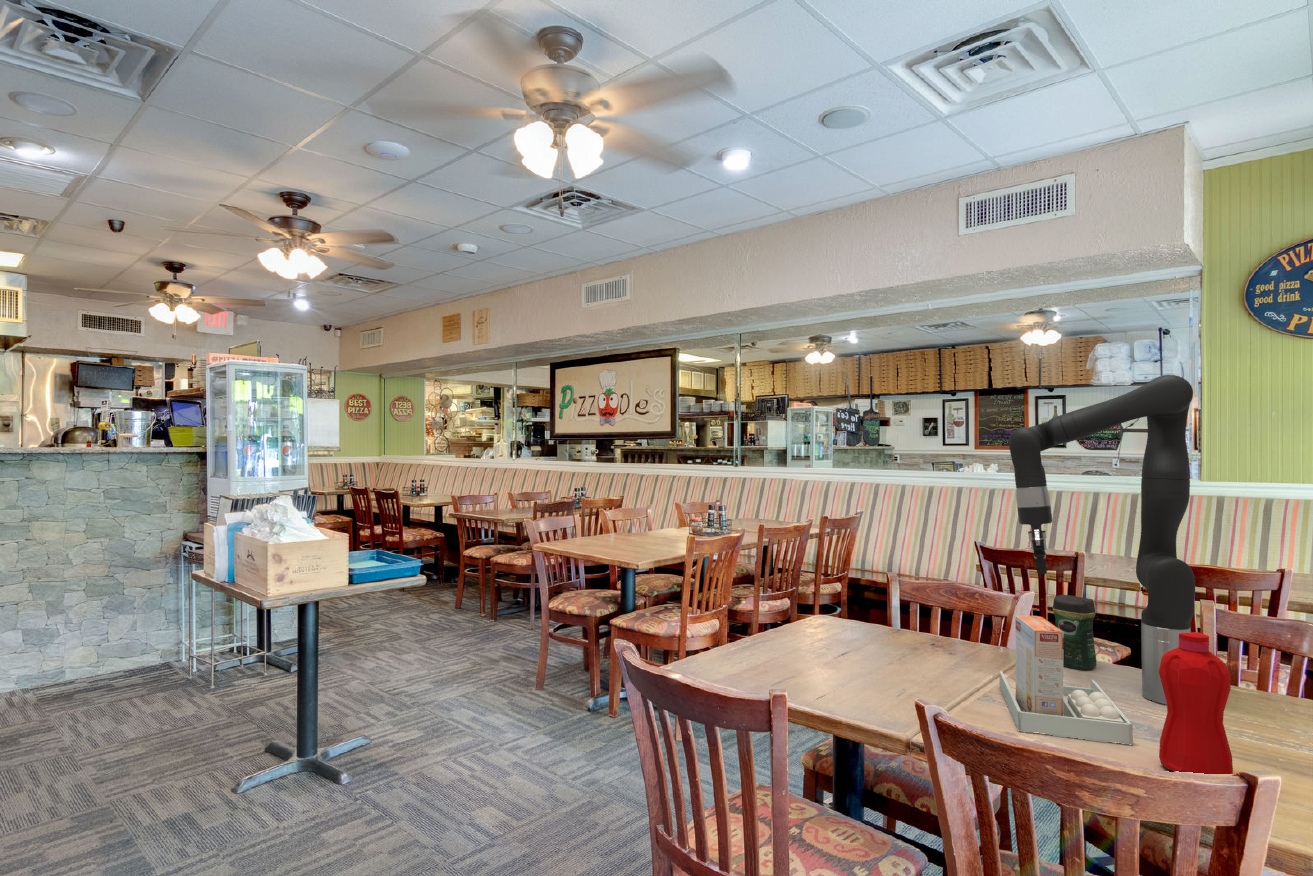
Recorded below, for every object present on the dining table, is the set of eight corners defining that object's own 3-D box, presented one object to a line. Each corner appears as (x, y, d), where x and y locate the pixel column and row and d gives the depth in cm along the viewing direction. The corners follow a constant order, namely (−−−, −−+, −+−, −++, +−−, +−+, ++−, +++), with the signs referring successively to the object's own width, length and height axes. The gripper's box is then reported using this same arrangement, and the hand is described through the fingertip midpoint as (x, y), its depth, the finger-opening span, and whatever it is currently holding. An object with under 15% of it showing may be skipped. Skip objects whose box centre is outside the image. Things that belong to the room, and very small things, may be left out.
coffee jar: (1101, 667, 184) (1100, 597, 184) (1087, 673, 179) (1086, 601, 180) (1062, 658, 192) (1062, 591, 192) (1048, 663, 187) (1047, 594, 188)
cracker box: (1065, 734, 140) (1065, 631, 141) (1033, 731, 142) (1032, 629, 142) (1044, 709, 154) (1043, 615, 154) (1014, 707, 155) (1014, 613, 156)
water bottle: (1186, 756, 131) (1184, 623, 131) (1243, 783, 120) (1241, 638, 120) (1142, 759, 129) (1141, 625, 130) (1196, 787, 118) (1194, 640, 119)
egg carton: (1104, 718, 150) (1104, 689, 150) (1123, 744, 136) (1123, 712, 137) (1067, 714, 152) (1067, 685, 152) (1083, 739, 139) (1083, 707, 139)
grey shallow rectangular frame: (1094, 697, 162) (1094, 680, 162) (1132, 745, 135) (1132, 725, 135) (999, 687, 168) (999, 671, 168) (1018, 731, 142) (1018, 712, 142)
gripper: (1050, 504, 169) (1059, 576, 167) (1050, 503, 180) (1058, 570, 179) (1016, 506, 172) (1024, 577, 171) (1017, 505, 184) (1025, 571, 182)
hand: (1042, 573), depth 175 cm, fingers closed
